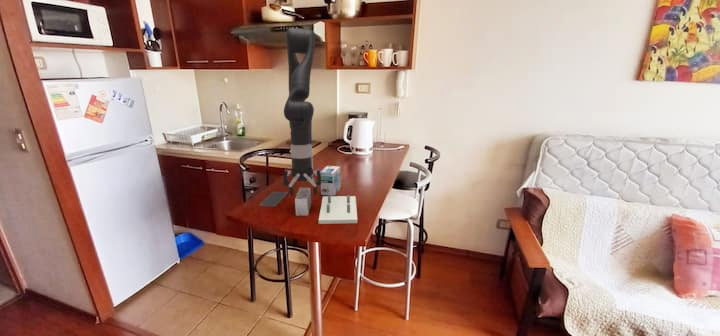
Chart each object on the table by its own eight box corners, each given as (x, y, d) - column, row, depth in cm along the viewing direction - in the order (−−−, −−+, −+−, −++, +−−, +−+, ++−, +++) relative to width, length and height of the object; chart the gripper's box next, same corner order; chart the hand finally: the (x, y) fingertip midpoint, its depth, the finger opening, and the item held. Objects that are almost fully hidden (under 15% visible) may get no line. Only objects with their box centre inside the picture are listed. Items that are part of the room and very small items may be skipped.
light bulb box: (334, 196, 135) (334, 173, 131) (320, 194, 136) (319, 172, 133) (341, 187, 145) (340, 166, 141) (327, 186, 146) (326, 165, 143)
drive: (300, 203, 127) (299, 187, 125) (311, 203, 127) (310, 187, 125) (295, 216, 116) (294, 199, 114) (308, 215, 116) (307, 198, 114)
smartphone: (257, 205, 124) (273, 191, 138) (258, 207, 124) (273, 193, 138) (275, 206, 123) (288, 192, 137) (275, 208, 123) (288, 194, 137)
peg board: (322, 199, 131) (322, 190, 129) (355, 199, 131) (355, 189, 130) (318, 223, 110) (318, 212, 108) (357, 223, 110) (357, 212, 109)
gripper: (321, 152, 119) (322, 191, 124) (284, 153, 118) (287, 191, 123) (319, 157, 112) (321, 198, 116) (280, 157, 111) (283, 199, 116)
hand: (303, 195), depth 120 cm, fingers open, 8 cm apart
